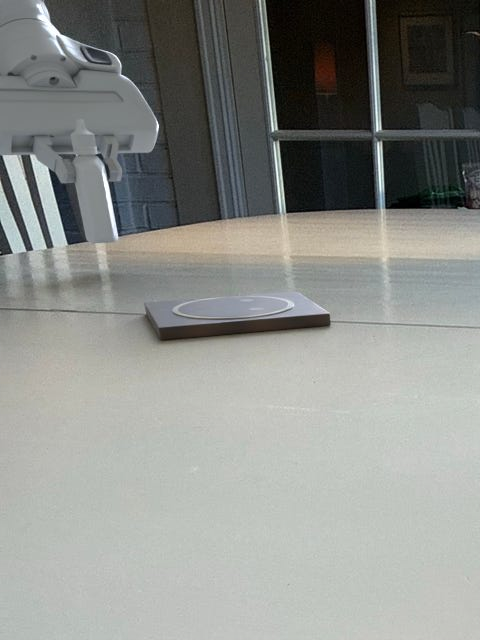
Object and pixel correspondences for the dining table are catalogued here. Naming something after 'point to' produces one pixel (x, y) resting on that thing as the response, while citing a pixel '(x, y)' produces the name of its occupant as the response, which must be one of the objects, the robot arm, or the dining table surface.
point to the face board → (234, 315)
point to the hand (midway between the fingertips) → (93, 178)
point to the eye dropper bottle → (92, 188)
